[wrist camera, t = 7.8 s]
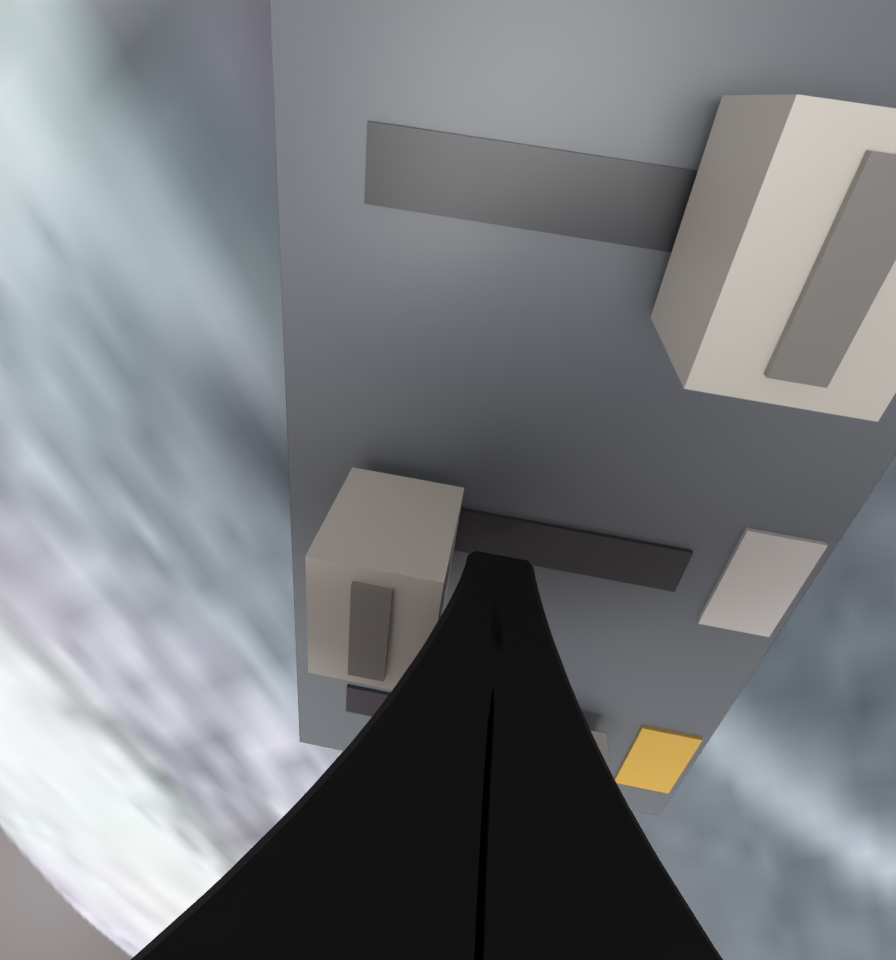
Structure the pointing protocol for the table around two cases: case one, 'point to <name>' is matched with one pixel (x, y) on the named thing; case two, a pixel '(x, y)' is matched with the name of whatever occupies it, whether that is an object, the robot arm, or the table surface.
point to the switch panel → (555, 330)
